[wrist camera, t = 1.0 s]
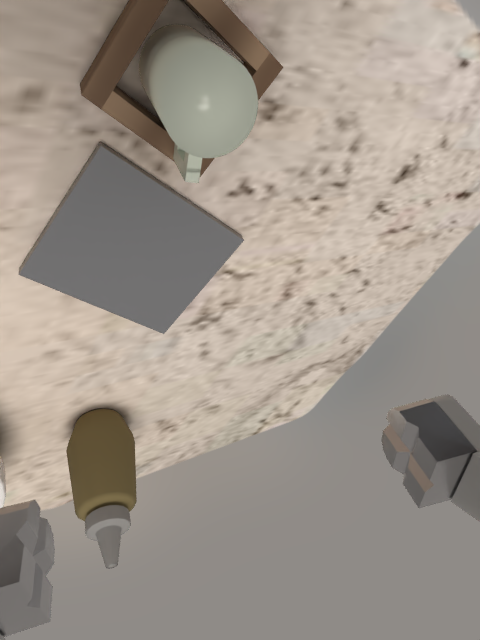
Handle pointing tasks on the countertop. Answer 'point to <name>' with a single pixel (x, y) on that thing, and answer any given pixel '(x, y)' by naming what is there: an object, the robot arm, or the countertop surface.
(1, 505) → the bowl
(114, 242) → the charcoal tile
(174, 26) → the pale green mug
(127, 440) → the squeeze bottle
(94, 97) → the walnut holder
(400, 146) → the countertop surface
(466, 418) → the robot arm
